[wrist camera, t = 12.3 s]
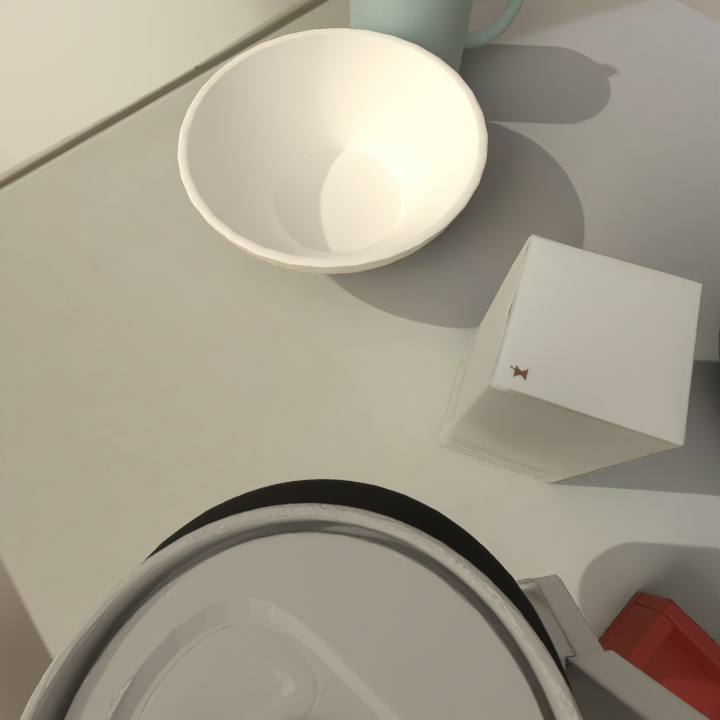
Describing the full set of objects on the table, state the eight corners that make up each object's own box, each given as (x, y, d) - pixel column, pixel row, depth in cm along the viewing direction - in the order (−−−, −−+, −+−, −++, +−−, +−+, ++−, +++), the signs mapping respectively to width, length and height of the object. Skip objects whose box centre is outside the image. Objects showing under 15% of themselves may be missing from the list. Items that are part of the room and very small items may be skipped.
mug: (361, 123, 38) (360, -10, 29) (344, 47, 41) (337, -95, 32) (520, 100, 39) (570, -37, 29) (491, 26, 42) (527, -118, 33)
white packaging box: (551, 487, 28) (688, 455, 16) (434, 444, 29) (481, 384, 17) (575, 378, 30) (711, 281, 18) (467, 342, 31) (528, 228, 19)
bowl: (186, 149, 37) (149, 70, 31) (407, 85, 40) (415, -1, 33) (251, 357, 31) (220, 312, 25) (510, 268, 33) (545, 205, 27)
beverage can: (300, 483, 17) (164, 381, 6) (472, 556, 16) (726, 610, 5) (215, 679, 15) (-282, 1147, 3) (408, 777, 14) (586, 1874, 2)
